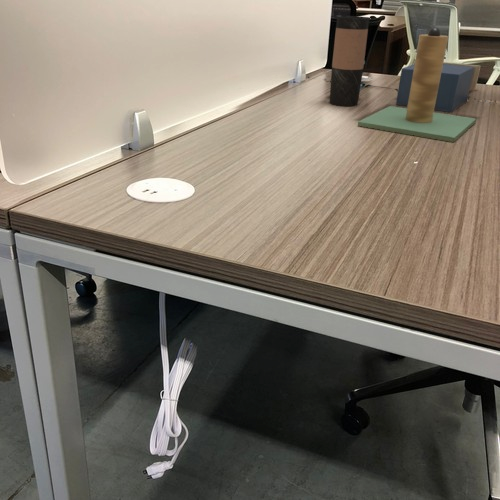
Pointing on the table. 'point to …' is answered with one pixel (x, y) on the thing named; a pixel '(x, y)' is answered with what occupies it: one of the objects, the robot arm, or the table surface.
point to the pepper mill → (426, 76)
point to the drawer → (475, 74)
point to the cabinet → (441, 86)
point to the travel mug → (348, 59)
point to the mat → (419, 124)
